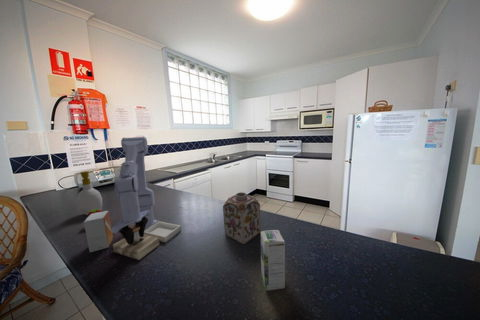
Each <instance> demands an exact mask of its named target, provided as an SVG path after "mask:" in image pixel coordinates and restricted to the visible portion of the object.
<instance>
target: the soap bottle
mask: <svg viewBox="0 0 480 320" xmlns="http://www.w3.org/2000/svg"><path fill="white" fill-rule="evenodd" d="M89 173H91V171H88V170H87V171H81V172H80V176H81V178H82V179H81V183H82V184H81V187H82V190H81V191H80V192H78V194H77V198H76V199H77V204H78V207H79V209H80V210H81V212H82V214H84V215H86V216H88V212H90V211H92V209H98V208H99V209H100V210H101V211H102V209H103V197H102V195H101V193H100V191H99V190H97V189H95V188H94V187H93V184H92V182H91V178H89V177H90V174H89ZM92 207H93V208H92Z"/></svg>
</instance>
